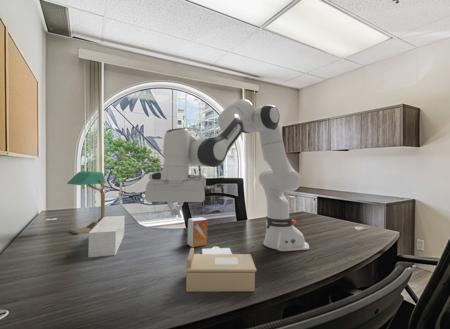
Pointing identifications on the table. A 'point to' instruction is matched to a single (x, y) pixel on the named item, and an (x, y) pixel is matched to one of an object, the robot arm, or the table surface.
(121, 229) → the stack of papers
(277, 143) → the robot arm
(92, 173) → the banker's lamp
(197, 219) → the small box
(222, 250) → the mounting plate
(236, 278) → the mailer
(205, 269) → the lid
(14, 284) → the table surface
